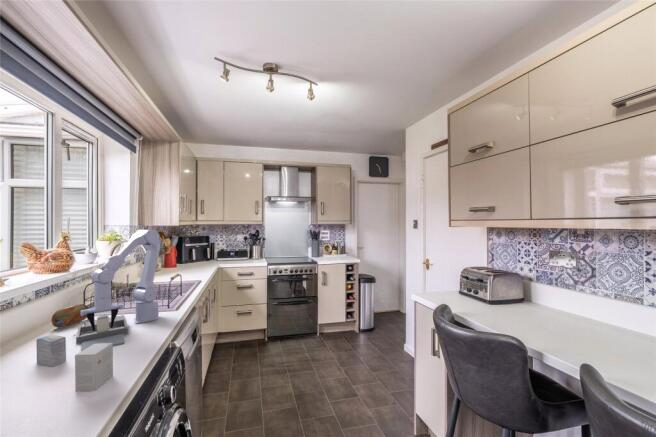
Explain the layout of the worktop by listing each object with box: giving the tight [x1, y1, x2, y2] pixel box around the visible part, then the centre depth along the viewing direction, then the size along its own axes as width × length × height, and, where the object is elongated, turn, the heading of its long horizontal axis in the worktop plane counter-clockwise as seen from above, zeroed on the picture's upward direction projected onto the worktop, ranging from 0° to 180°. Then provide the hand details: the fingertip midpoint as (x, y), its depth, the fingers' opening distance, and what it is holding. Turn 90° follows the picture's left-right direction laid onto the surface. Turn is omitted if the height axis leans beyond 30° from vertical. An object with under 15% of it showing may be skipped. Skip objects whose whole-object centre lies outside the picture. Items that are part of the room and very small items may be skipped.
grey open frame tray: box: [75, 314, 129, 345], centre depth 131 cm, size 17×27×3 cm, turn 38°
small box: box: [74, 343, 114, 393], centre depth 87 cm, size 8×6×10 cm
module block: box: [96, 313, 110, 333], centre depth 126 cm, size 4×6×7 cm, turn 38°
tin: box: [51, 303, 89, 329], centre depth 137 cm, size 15×3×8 cm, turn 168°
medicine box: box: [35, 334, 67, 368], centre depth 100 cm, size 8×4×9 cm, turn 71°
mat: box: [80, 334, 125, 352], centre depth 115 cm, size 13×11×1 cm
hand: (102, 328), depth 126 cm, fingers open, 5 cm apart
